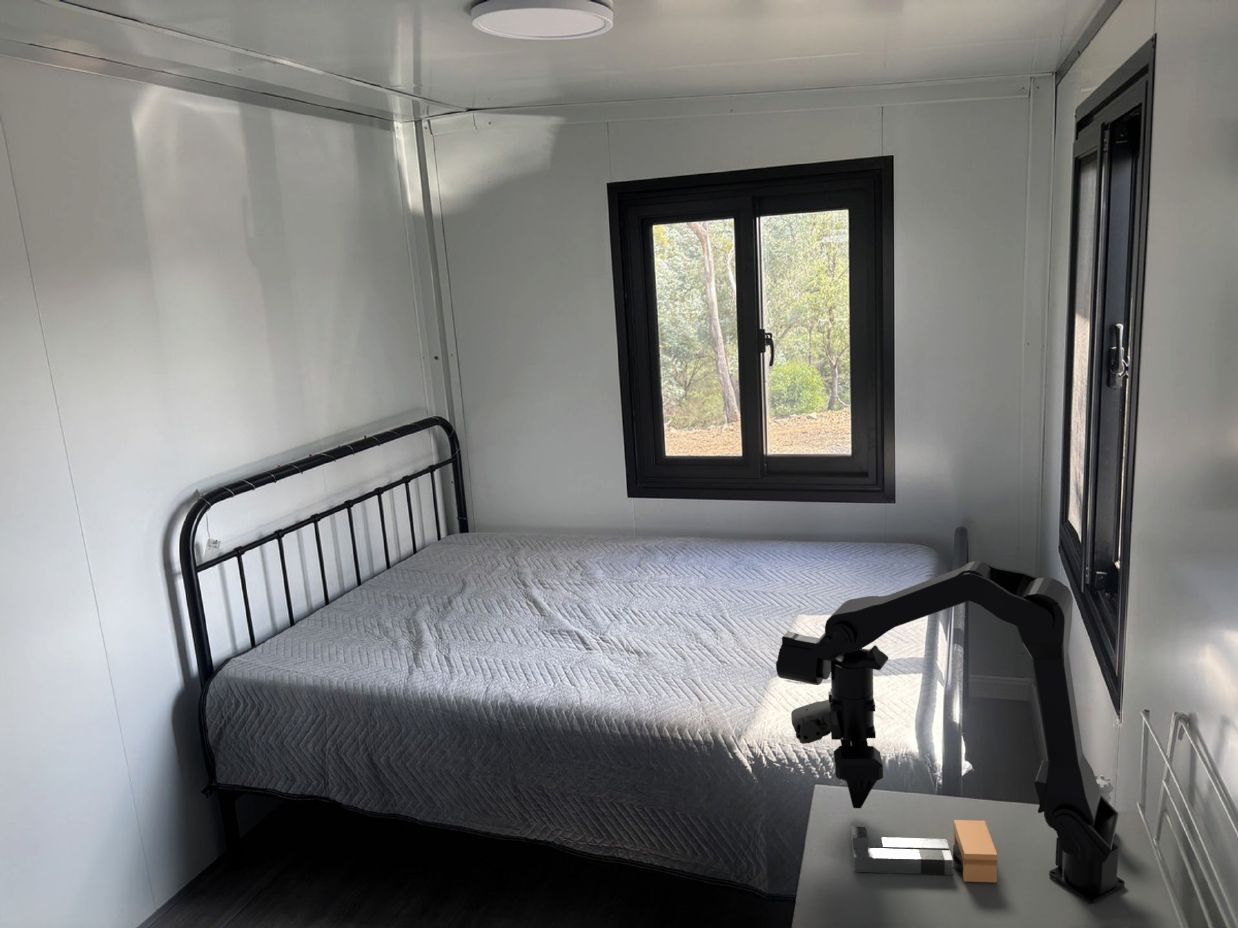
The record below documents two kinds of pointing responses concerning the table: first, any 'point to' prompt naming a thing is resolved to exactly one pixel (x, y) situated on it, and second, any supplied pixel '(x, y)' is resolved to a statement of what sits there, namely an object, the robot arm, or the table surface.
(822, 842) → the table surface
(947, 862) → the arm
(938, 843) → the tongs fixed
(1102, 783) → the rook chess piece
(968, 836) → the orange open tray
